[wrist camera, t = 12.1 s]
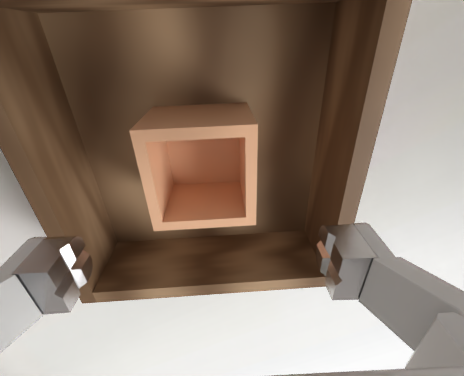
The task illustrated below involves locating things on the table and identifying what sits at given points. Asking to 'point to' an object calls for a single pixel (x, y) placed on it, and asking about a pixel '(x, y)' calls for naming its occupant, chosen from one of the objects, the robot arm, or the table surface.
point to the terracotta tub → (198, 165)
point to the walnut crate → (194, 93)
